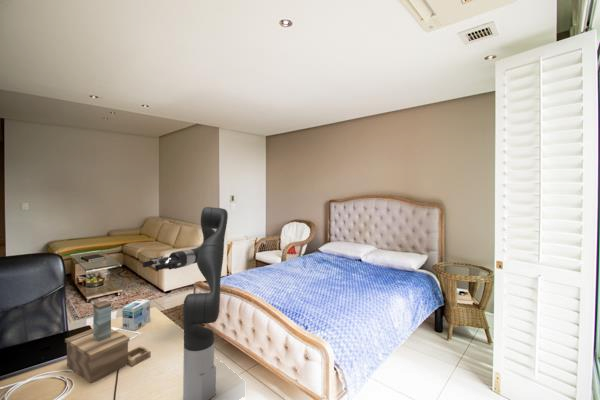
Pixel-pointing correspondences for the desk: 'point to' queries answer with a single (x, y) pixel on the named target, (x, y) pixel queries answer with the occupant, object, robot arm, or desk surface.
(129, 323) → the light bulb box
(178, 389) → the desk surface
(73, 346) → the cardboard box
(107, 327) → the grey block with cap
